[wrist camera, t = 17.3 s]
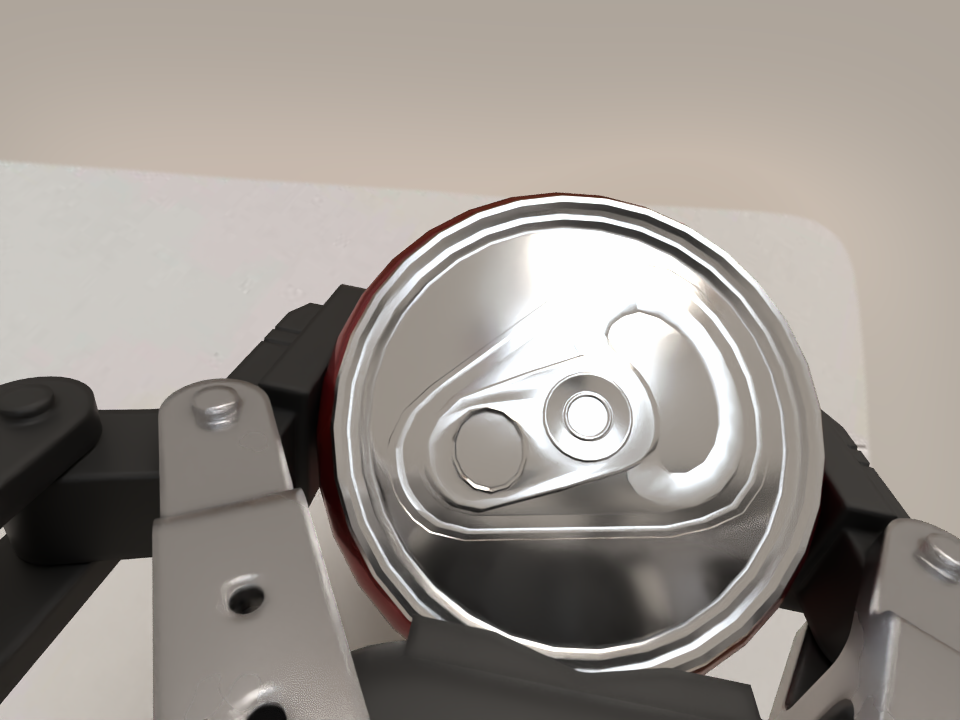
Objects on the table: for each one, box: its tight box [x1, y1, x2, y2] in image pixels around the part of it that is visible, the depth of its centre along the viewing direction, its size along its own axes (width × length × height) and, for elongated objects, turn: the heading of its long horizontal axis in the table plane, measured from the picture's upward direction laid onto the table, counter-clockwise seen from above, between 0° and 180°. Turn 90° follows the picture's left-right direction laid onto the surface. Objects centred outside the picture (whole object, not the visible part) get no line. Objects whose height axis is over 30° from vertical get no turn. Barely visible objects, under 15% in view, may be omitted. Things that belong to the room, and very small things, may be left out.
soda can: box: [315, 192, 826, 675], centre depth 13 cm, size 7×7×12 cm
